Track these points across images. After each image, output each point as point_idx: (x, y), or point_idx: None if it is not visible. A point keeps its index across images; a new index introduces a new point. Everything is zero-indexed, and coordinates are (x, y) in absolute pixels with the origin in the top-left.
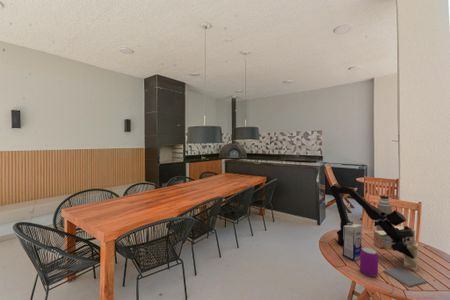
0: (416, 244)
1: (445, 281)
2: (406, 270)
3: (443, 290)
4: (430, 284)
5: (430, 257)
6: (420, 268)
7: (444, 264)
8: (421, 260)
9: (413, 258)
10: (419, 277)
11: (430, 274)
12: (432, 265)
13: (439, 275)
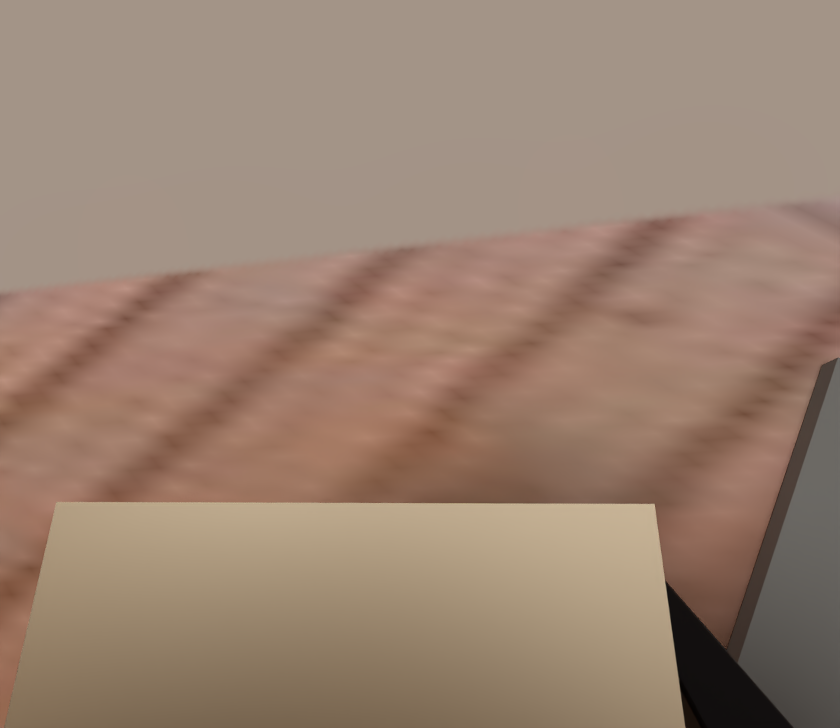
0: (269, 575)
1: (546, 230)
2: (760, 642)
3: (826, 213)
4: (819, 329)
5: (5, 410)
6: (417, 472)
7: (108, 287)
8: (152, 485)
9: None
10: (823, 447)
11: (500, 361)
12: (215, 371)
13: (438, 288)
